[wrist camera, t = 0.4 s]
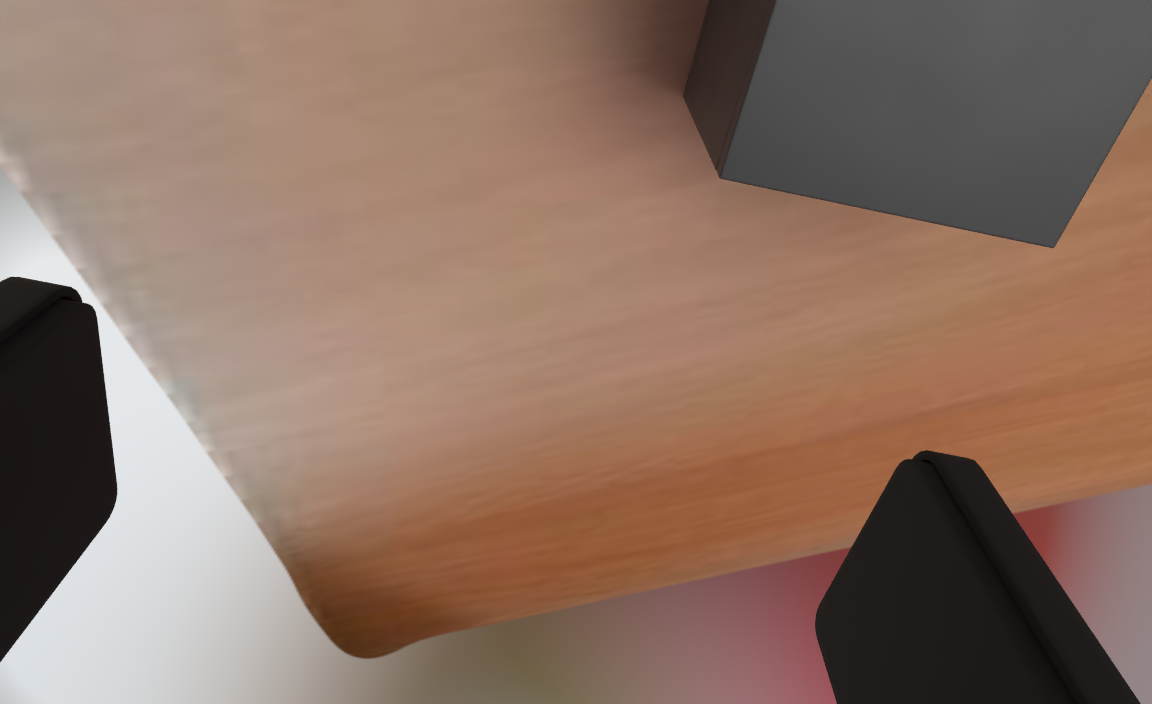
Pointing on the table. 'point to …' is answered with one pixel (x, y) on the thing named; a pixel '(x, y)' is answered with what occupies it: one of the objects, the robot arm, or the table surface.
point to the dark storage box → (722, 67)
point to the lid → (941, 106)
